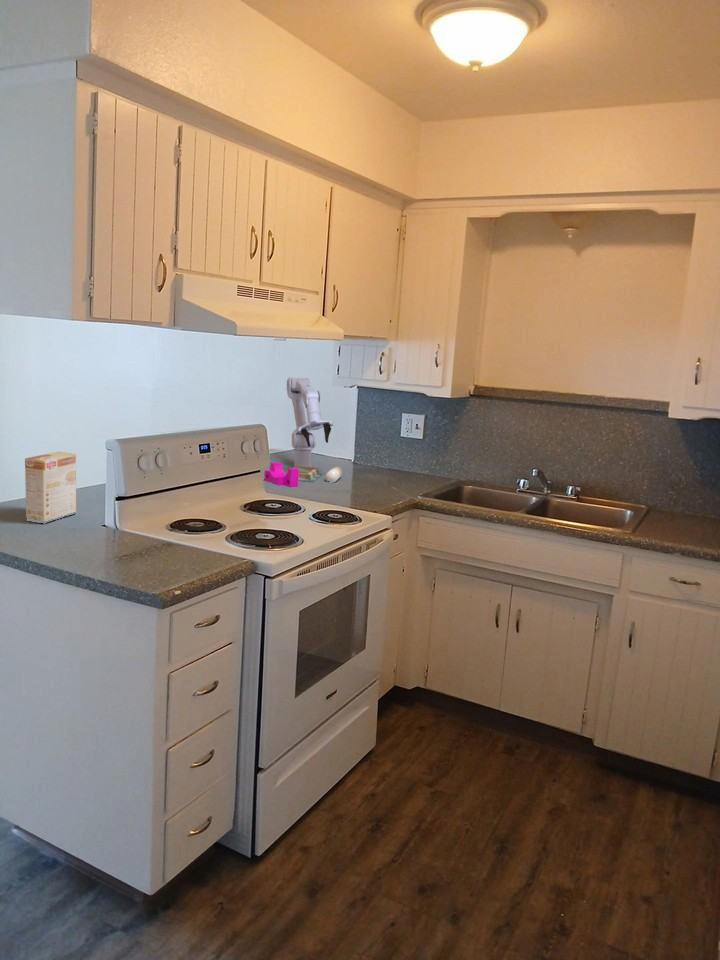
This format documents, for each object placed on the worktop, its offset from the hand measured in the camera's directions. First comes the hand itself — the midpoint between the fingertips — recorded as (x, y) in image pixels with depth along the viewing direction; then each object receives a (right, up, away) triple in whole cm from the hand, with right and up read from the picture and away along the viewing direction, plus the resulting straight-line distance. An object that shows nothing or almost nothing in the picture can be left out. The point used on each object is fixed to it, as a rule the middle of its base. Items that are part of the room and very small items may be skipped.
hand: (317, 443), depth 321 cm
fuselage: (+7, -15, +6) cm, 18 cm away
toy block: (-15, -17, -9) cm, 24 cm away
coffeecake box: (-77, -27, -83) cm, 117 cm away
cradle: (-7, -14, +8) cm, 17 cm away
